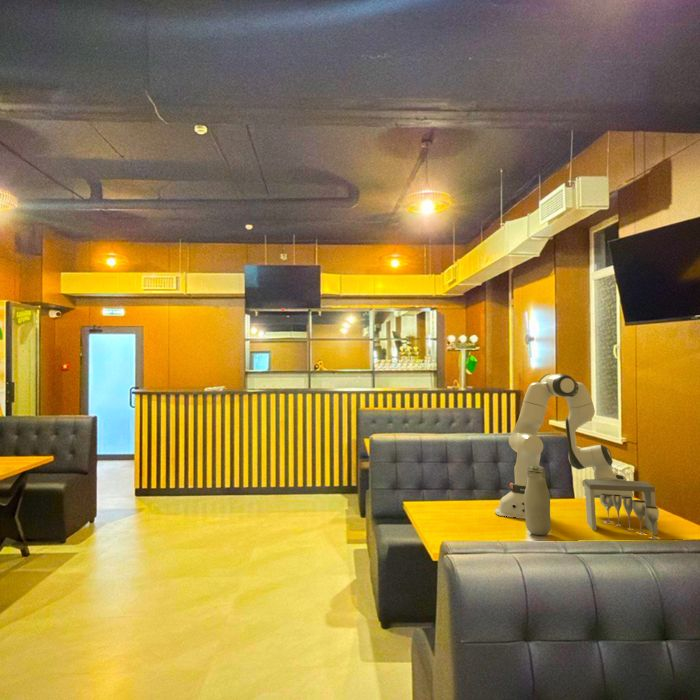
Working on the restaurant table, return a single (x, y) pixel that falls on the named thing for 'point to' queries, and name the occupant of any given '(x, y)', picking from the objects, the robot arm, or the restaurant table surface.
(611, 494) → the robot arm
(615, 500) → the goblet set
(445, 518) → the restaurant table surface
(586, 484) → the low table
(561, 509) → the restaurant table surface
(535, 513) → the grey bottle
